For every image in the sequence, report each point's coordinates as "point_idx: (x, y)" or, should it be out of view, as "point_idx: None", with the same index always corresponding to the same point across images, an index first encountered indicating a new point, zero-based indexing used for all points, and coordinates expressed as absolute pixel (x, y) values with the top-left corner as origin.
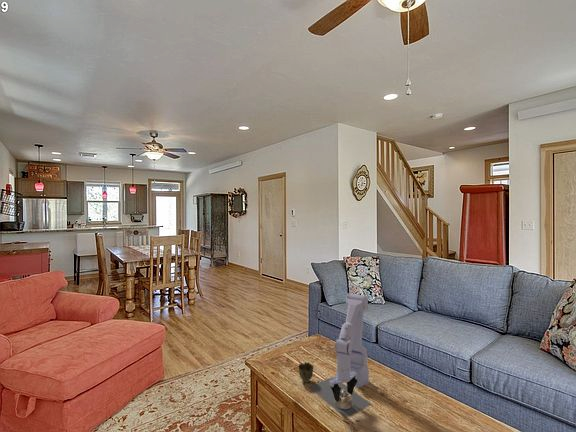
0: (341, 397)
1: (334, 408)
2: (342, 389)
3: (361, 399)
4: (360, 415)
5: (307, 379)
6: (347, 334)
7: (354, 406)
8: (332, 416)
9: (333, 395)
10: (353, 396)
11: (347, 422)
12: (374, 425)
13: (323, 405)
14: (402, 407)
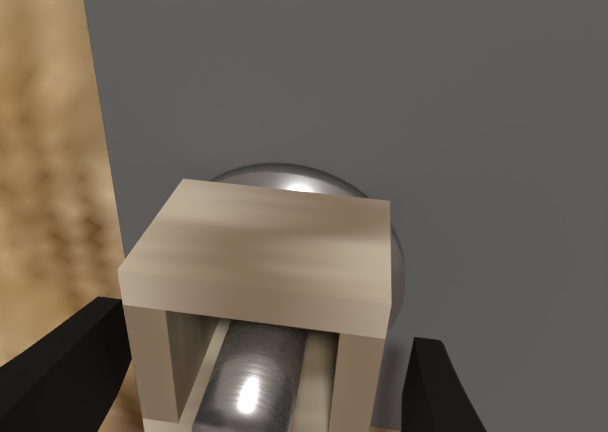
0: (162, 412)
1: (123, 245)
2: (363, 303)
3: (601, 347)
4: None
5: None
6: None
7: (383, 364)
8: (39, 295)
9: (328, 5)
10: (588, 244)
11: (137, 419)
12: None
13: (26, 83)
14: None
